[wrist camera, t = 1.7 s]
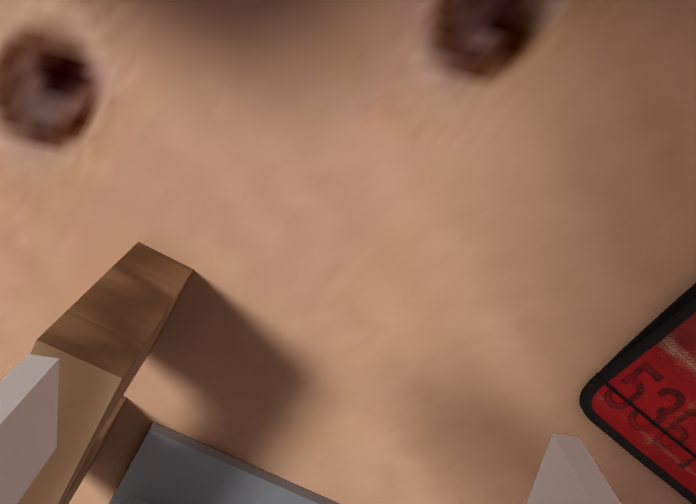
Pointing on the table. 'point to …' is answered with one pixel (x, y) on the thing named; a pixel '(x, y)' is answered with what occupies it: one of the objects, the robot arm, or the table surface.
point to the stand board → (200, 476)
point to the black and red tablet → (653, 396)
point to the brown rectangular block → (102, 361)
